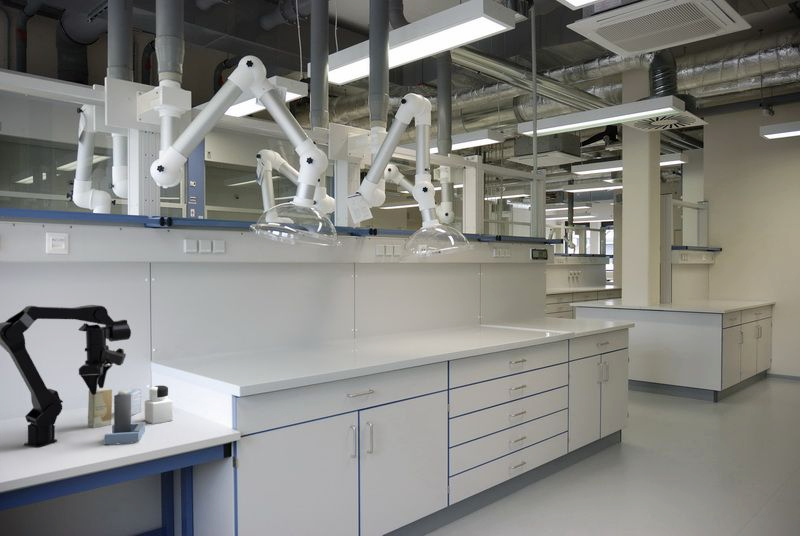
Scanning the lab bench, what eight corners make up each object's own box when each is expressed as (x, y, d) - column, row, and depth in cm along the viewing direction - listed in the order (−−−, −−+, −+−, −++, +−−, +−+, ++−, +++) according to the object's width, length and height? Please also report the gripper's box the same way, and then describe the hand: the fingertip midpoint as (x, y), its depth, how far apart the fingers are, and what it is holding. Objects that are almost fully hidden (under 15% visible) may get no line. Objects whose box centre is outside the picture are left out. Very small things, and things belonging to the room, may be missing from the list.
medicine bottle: (164, 416, 212) (164, 383, 212) (173, 420, 207) (173, 386, 207) (144, 420, 207) (144, 386, 207) (152, 424, 202) (152, 389, 202)
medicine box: (130, 411, 220) (130, 388, 220) (141, 412, 219) (141, 388, 219) (117, 417, 212) (117, 392, 212) (128, 417, 212) (128, 393, 211)
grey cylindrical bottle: (122, 439, 183) (122, 393, 183) (110, 437, 185) (110, 392, 185) (134, 435, 188) (134, 390, 188) (122, 433, 189) (122, 389, 189)
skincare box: (93, 428, 197) (93, 391, 197) (87, 426, 200) (87, 390, 200) (112, 424, 202) (112, 388, 202) (106, 422, 205) (106, 387, 205)
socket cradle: (104, 444, 179) (104, 434, 179) (113, 433, 191) (113, 423, 191) (138, 442, 182) (138, 431, 182) (144, 431, 194) (144, 421, 194)
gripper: (116, 346, 186) (118, 396, 186) (128, 338, 204) (130, 383, 204) (77, 348, 183) (79, 398, 184) (93, 339, 201) (95, 385, 202)
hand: (97, 391), depth 193 cm, fingers open, 9 cm apart
